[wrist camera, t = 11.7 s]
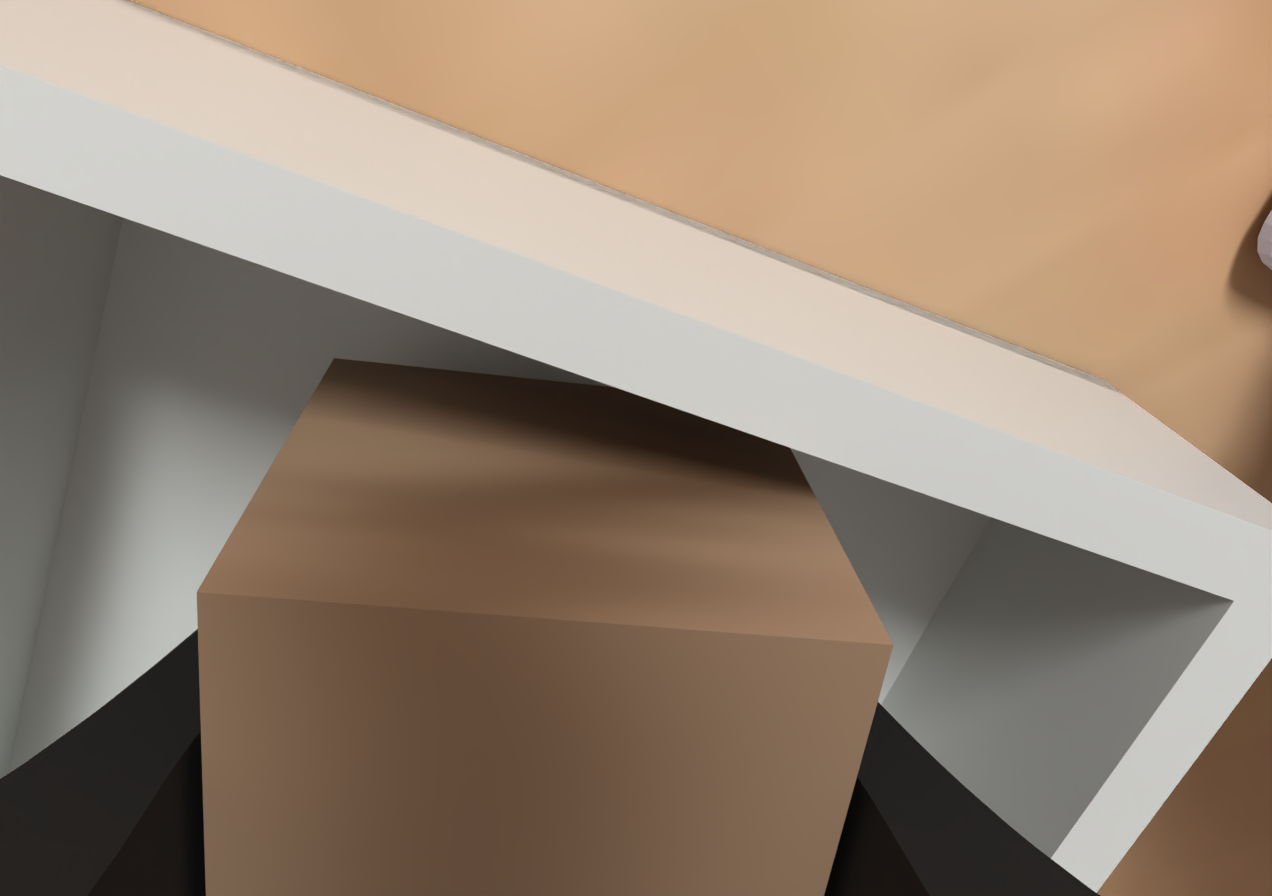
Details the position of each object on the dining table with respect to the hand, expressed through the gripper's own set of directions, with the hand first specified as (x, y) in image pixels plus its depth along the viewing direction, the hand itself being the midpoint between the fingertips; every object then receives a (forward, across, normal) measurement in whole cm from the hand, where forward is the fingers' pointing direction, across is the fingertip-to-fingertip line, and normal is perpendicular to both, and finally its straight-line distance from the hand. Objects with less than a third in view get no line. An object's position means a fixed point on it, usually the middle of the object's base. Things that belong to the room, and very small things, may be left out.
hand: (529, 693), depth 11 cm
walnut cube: (+2, 0, 0) cm, 2 cm away
